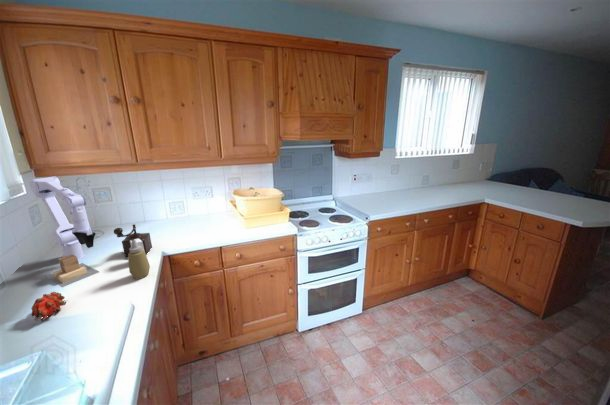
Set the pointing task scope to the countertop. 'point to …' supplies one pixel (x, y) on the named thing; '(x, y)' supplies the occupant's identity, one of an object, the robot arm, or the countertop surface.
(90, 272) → the slate mat
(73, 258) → the walnut block
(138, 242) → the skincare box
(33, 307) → the dragon fruit
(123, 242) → the coffee grinder
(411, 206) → the countertop surface
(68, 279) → the oak base
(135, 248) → the squeeze bottle
